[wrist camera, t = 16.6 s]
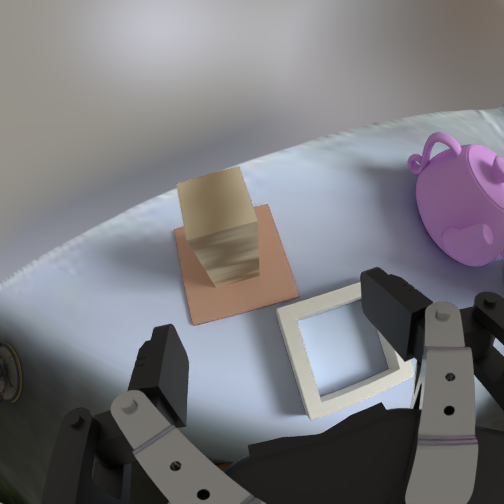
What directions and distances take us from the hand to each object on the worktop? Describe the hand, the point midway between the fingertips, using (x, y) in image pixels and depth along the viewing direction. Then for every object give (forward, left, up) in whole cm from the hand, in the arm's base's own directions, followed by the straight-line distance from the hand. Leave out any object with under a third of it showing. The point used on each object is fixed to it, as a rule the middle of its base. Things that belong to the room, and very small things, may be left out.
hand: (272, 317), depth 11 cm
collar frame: (-8, +3, -19) cm, 21 cm away
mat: (+1, -10, -19) cm, 22 cm away
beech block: (+1, -10, -19) cm, 21 cm away
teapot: (-30, -6, -19) cm, 36 cm away
